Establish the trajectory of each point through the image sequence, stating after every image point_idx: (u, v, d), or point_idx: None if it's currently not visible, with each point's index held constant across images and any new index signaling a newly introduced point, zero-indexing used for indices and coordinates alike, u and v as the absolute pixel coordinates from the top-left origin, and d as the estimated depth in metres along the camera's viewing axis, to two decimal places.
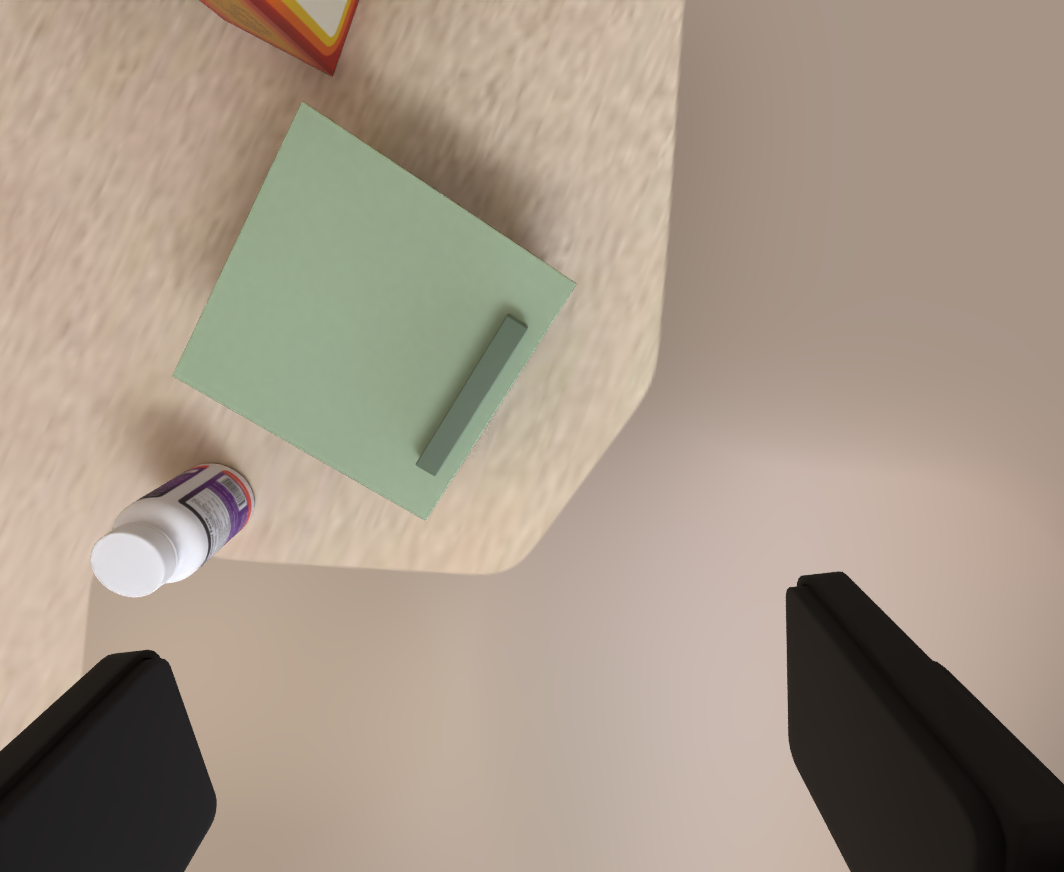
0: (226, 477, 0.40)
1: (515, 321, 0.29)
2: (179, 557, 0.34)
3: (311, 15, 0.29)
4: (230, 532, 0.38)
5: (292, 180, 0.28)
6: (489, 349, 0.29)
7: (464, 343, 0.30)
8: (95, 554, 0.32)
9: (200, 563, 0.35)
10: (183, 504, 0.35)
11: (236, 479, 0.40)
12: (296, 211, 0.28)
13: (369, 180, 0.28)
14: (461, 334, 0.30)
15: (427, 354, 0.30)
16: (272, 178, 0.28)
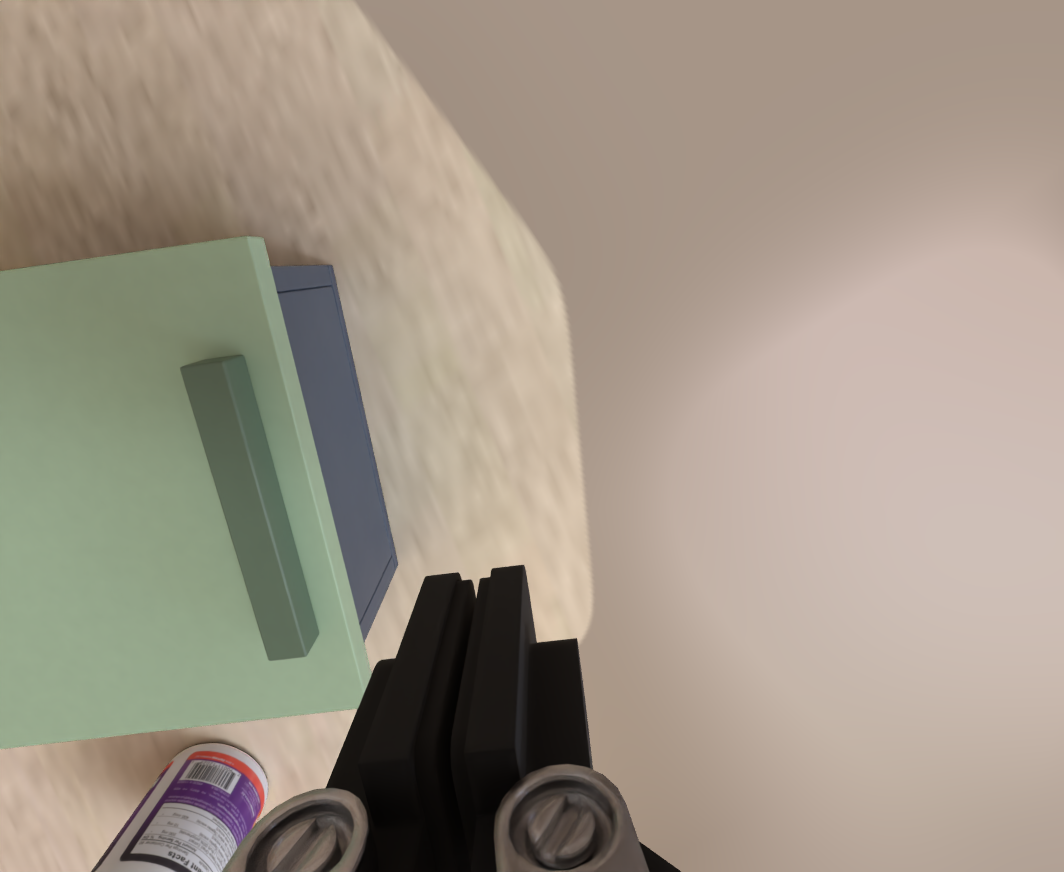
0: (193, 763, 0.29)
1: (198, 365, 0.15)
2: None
3: None
4: (232, 830, 0.28)
5: None
6: (204, 435, 0.16)
7: (191, 449, 0.17)
8: None
9: None
10: (127, 859, 0.24)
11: (209, 756, 0.30)
12: None
13: None
14: (176, 440, 0.17)
15: (163, 501, 0.18)
16: None
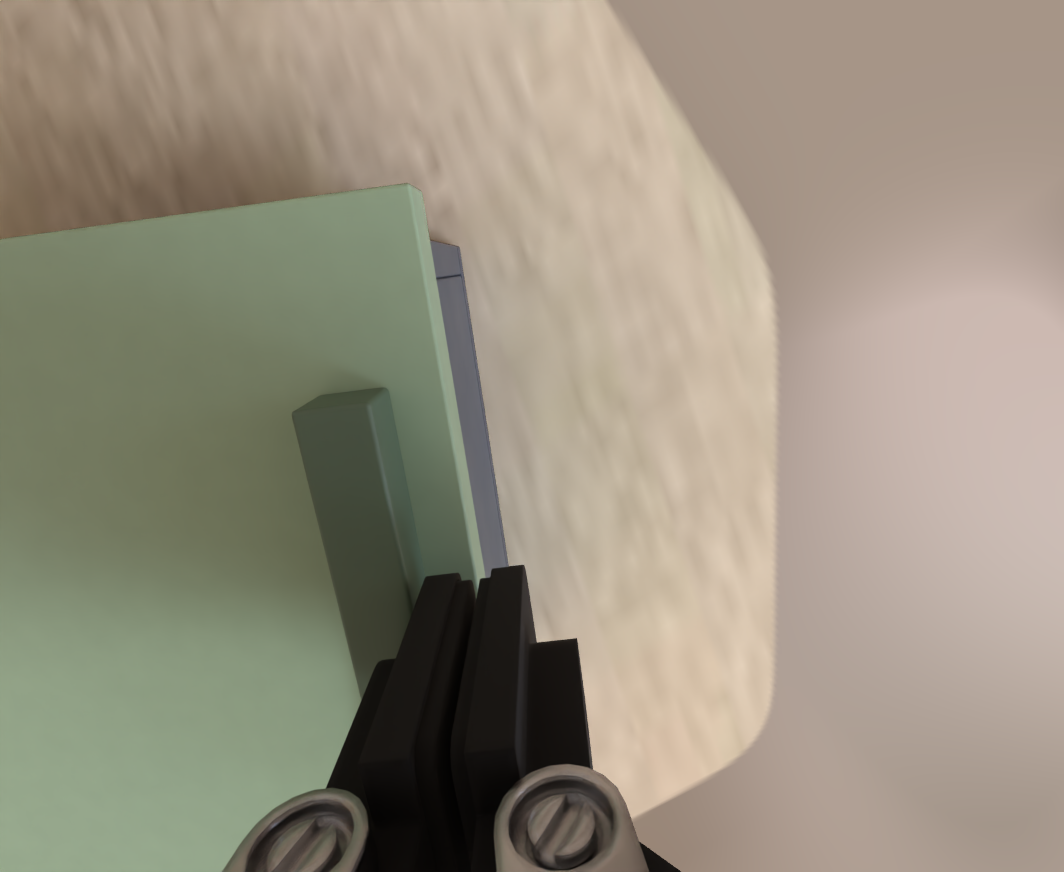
0: None
1: (324, 410, 0.09)
2: None
3: None
4: None
5: None
6: (326, 527, 0.09)
7: (290, 539, 0.11)
8: None
9: None
10: None
11: None
12: None
13: None
14: (266, 524, 0.10)
15: (240, 618, 0.11)
16: None
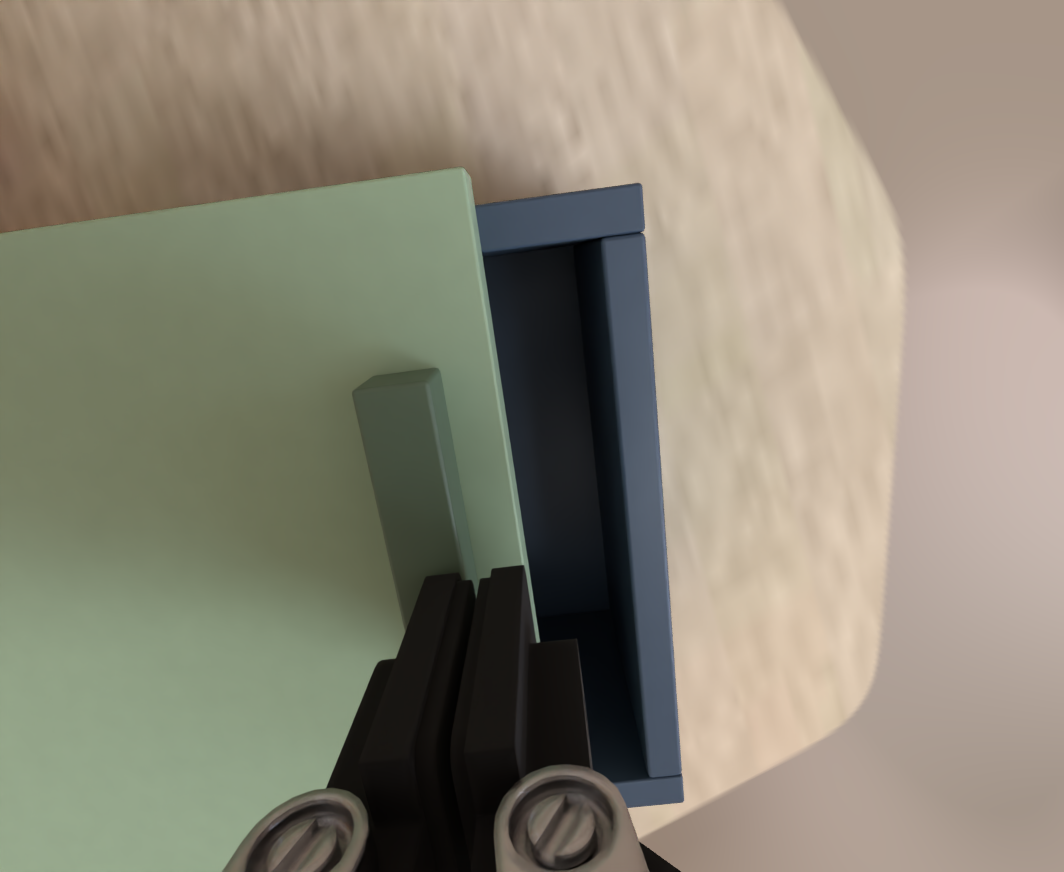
0: None
1: (384, 388, 0.09)
2: None
3: None
4: None
5: None
6: (384, 503, 0.09)
7: (341, 517, 0.11)
8: None
9: None
10: None
11: None
12: None
13: None
14: (317, 503, 0.11)
15: (291, 596, 0.11)
16: None
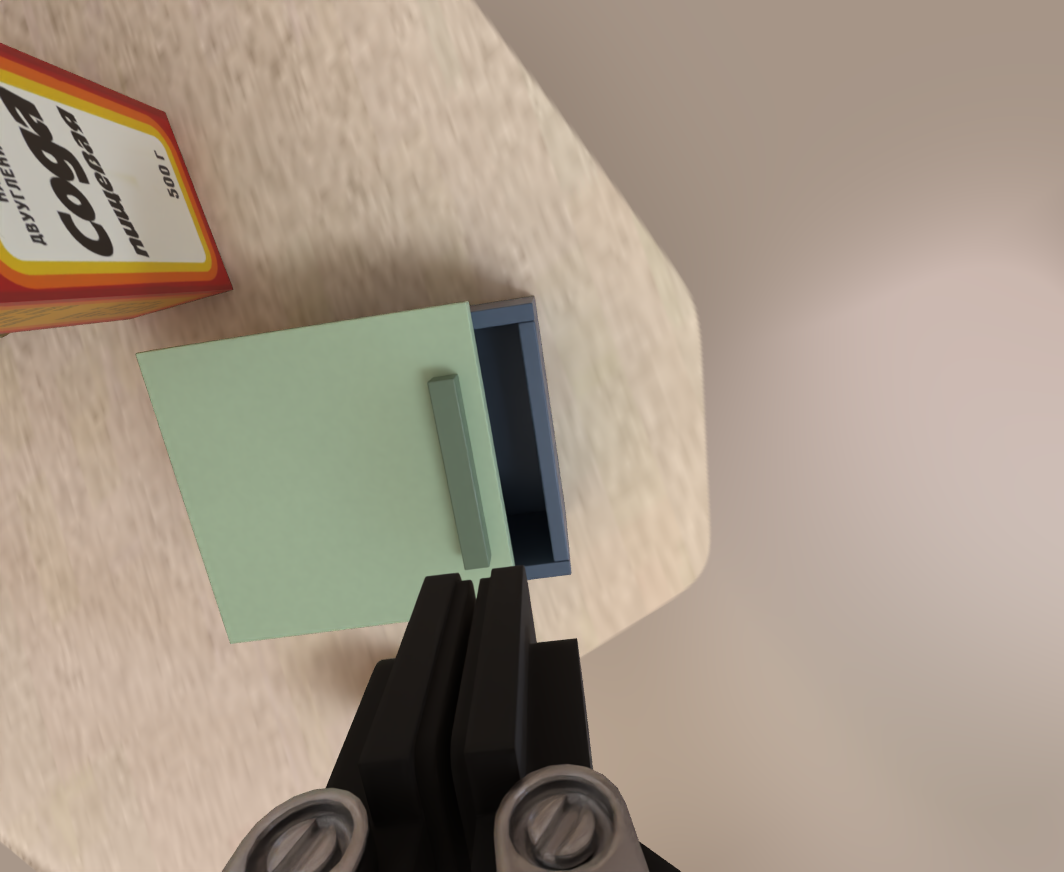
0: None
1: (438, 381, 0.25)
2: None
3: (172, 260, 0.29)
4: None
5: (181, 420, 0.27)
6: (438, 423, 0.26)
7: (419, 434, 0.27)
8: None
9: None
10: None
11: None
12: (204, 440, 0.27)
13: (233, 368, 0.27)
14: (410, 428, 0.27)
15: (398, 467, 0.28)
16: (166, 431, 0.27)
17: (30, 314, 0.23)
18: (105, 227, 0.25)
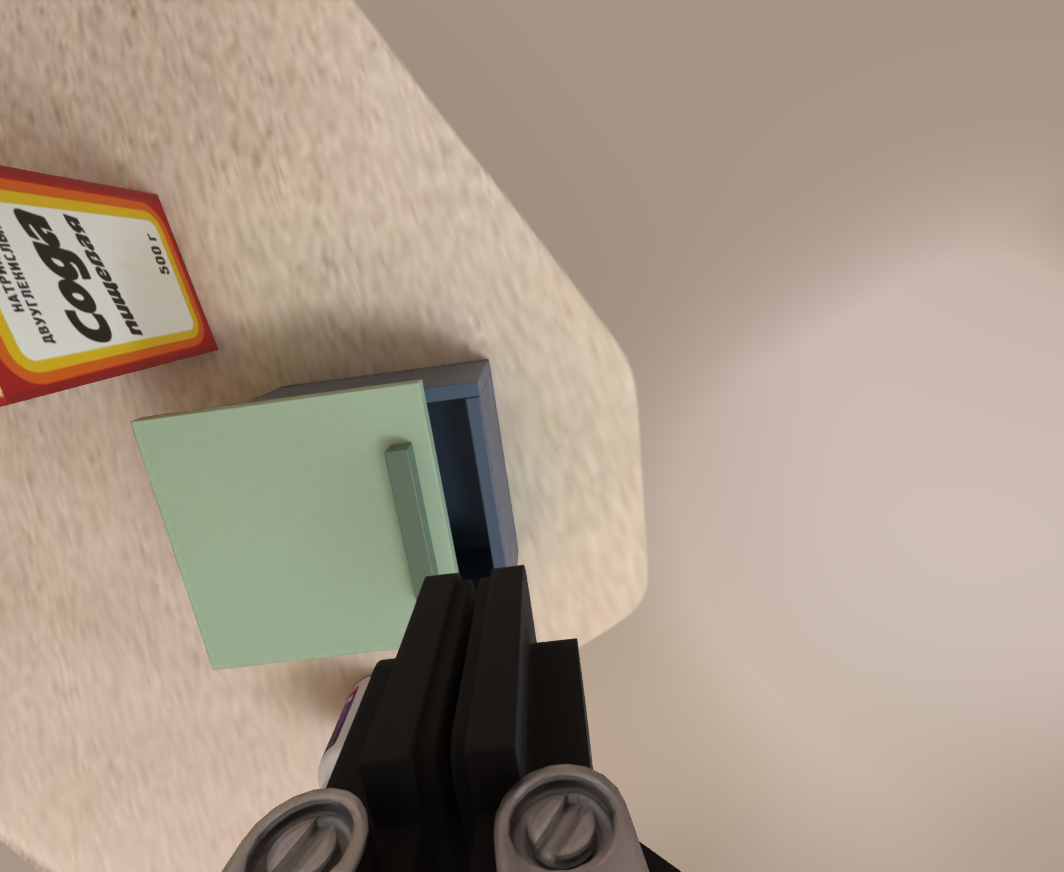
0: None
1: (394, 451, 0.29)
2: None
3: (163, 333, 0.33)
4: None
5: (170, 478, 0.31)
6: (394, 486, 0.30)
7: (379, 492, 0.31)
8: None
9: None
10: None
11: None
12: (190, 496, 0.31)
13: (216, 435, 0.30)
14: (371, 487, 0.31)
15: (361, 521, 0.32)
16: (157, 488, 0.31)
17: None
18: (105, 316, 0.29)
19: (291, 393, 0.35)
